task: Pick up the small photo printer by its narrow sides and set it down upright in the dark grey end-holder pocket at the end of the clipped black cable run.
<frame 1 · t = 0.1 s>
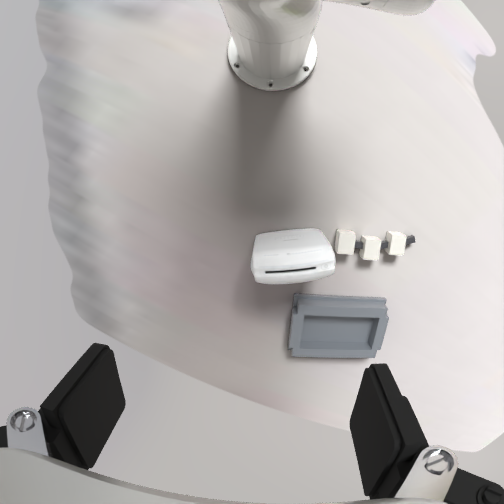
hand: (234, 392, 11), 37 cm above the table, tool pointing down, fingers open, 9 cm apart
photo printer: (289, 242, 47), on the table
cable run: (368, 241, 46), on the table
end holder: (336, 323, 50), on the table
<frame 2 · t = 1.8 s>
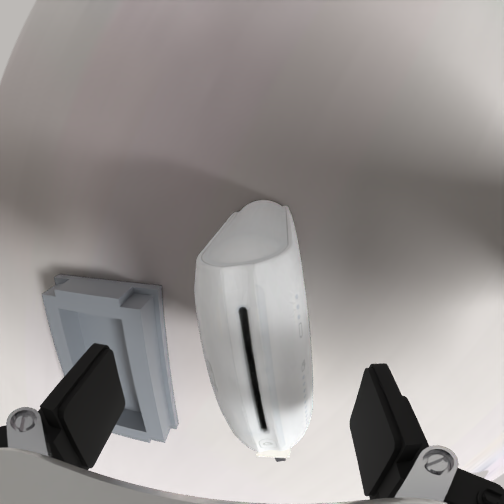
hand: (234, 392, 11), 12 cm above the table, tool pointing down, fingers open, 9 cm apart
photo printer: (270, 272, 22), on the table
end holder: (118, 356, 26), on the table
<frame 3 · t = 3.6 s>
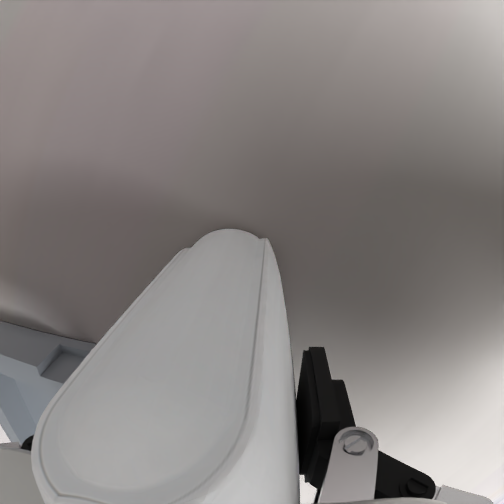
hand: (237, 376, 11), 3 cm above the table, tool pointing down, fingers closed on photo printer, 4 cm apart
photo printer: (244, 335, 14), on the table, touching gripper
end holder: (63, 416, 18), on the table
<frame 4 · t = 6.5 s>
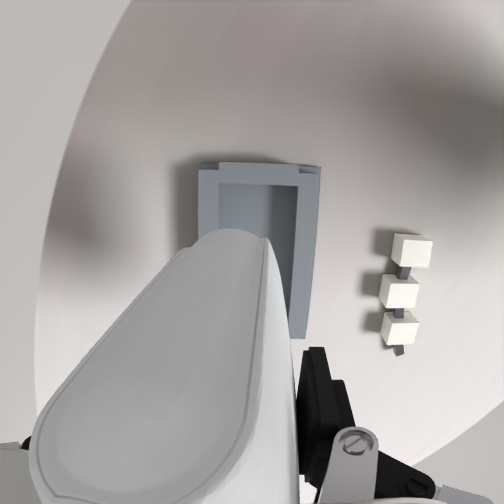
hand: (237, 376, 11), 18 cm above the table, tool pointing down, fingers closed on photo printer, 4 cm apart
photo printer: (244, 335, 14), point 15 cm above the table, touching gripper
cable run: (399, 286, 29), on the table
end holder: (257, 249, 28), on the table
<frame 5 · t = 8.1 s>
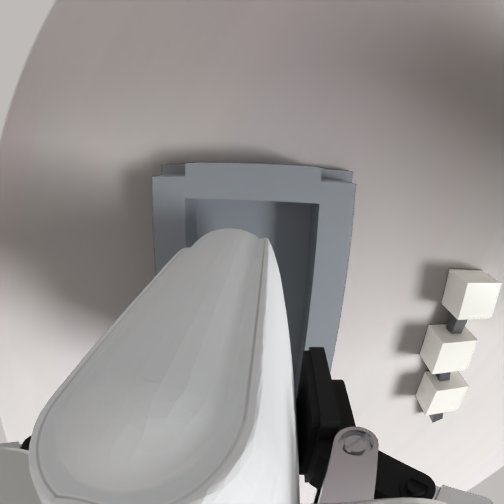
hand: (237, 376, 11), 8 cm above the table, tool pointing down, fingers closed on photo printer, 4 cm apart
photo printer: (244, 335, 14), point 4 cm above the table, touching gripper
cable run: (447, 338, 19), on the table
end holder: (252, 296, 19), on the table
when the fingers open (5 cm above the table, at t = 9.4 s): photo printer drops 1 cm, resting on end holder.
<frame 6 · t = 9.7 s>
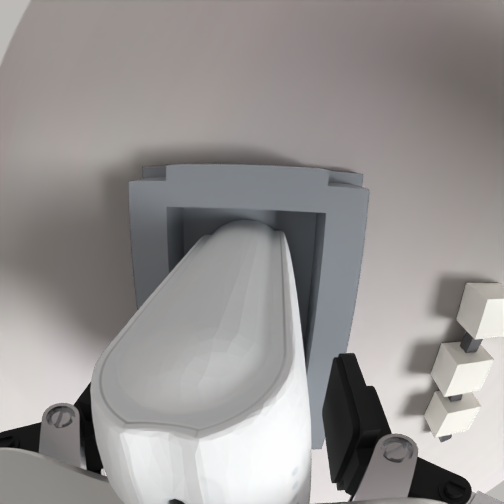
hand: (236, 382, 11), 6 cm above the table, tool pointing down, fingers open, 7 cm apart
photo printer: (252, 319, 16), point 1 cm above the table, touching end holder
cable run: (460, 356, 17), on the table
end holder: (247, 315, 16), on the table
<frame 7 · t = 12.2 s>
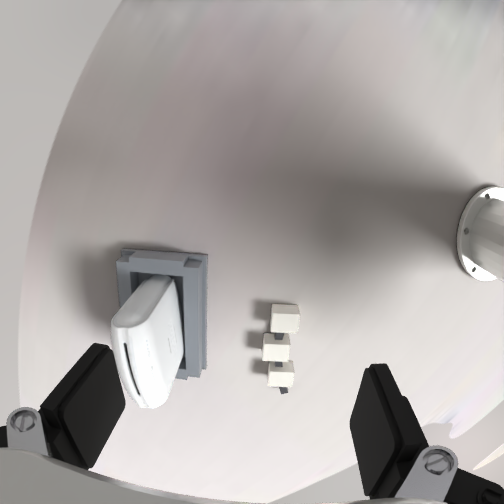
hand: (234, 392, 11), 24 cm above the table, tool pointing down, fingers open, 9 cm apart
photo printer: (167, 313, 36), point 1 cm above the table, touching end holder
cable run: (280, 342, 38), on the table
end holder: (165, 311, 37), on the table
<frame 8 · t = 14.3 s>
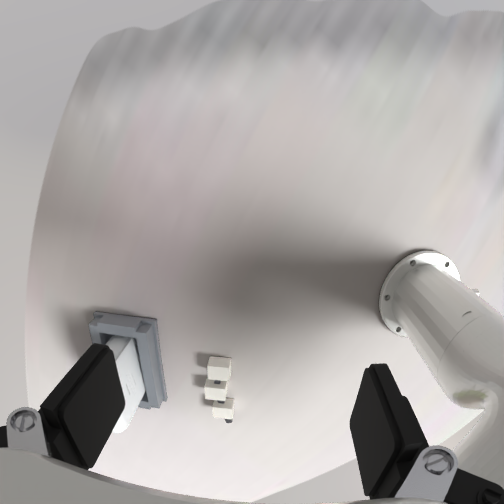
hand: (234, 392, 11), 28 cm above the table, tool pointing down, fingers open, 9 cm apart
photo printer: (132, 359, 44), point 1 cm above the table, touching end holder
cable run: (221, 384, 45), on the table
end holder: (131, 357, 45), on the table
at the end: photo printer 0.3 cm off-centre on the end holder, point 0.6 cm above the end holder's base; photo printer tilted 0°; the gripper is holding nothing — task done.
